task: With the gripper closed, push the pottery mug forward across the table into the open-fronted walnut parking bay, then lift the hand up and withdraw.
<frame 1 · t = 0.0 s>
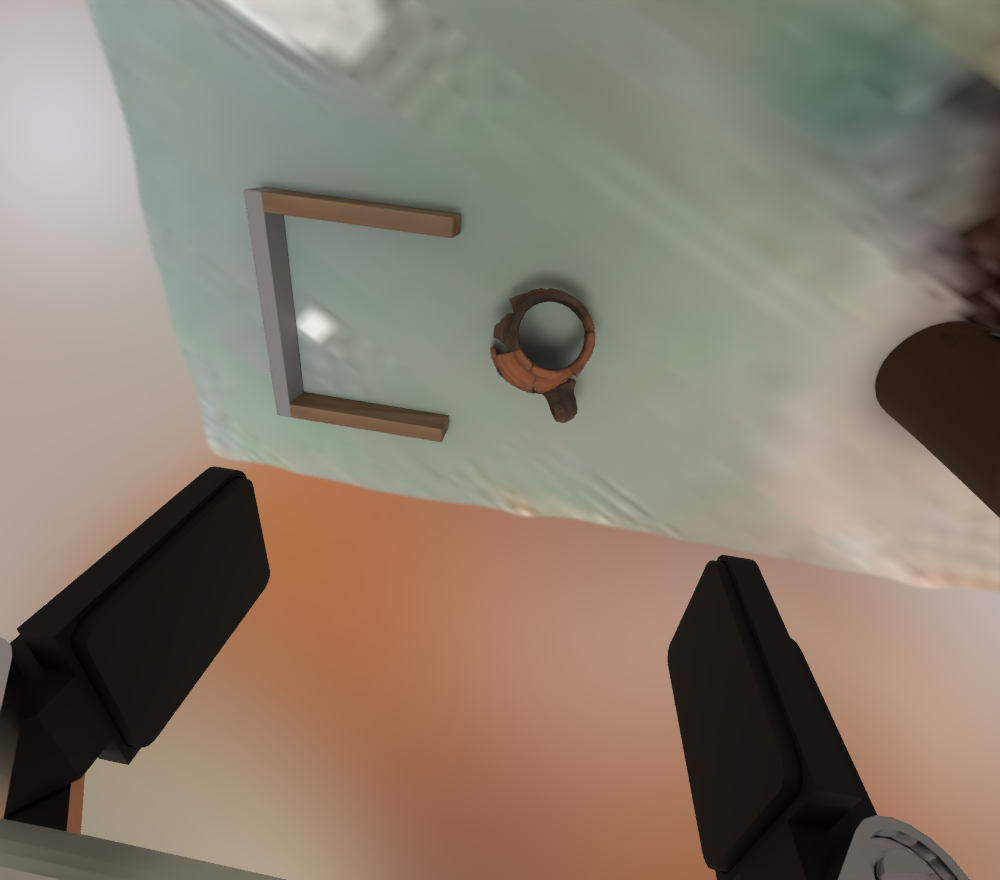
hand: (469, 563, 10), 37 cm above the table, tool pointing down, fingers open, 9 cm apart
parking bay: (373, 321, 46), on the table
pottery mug: (545, 346, 46), on the table
olive oil: (935, 372, 42), on the table
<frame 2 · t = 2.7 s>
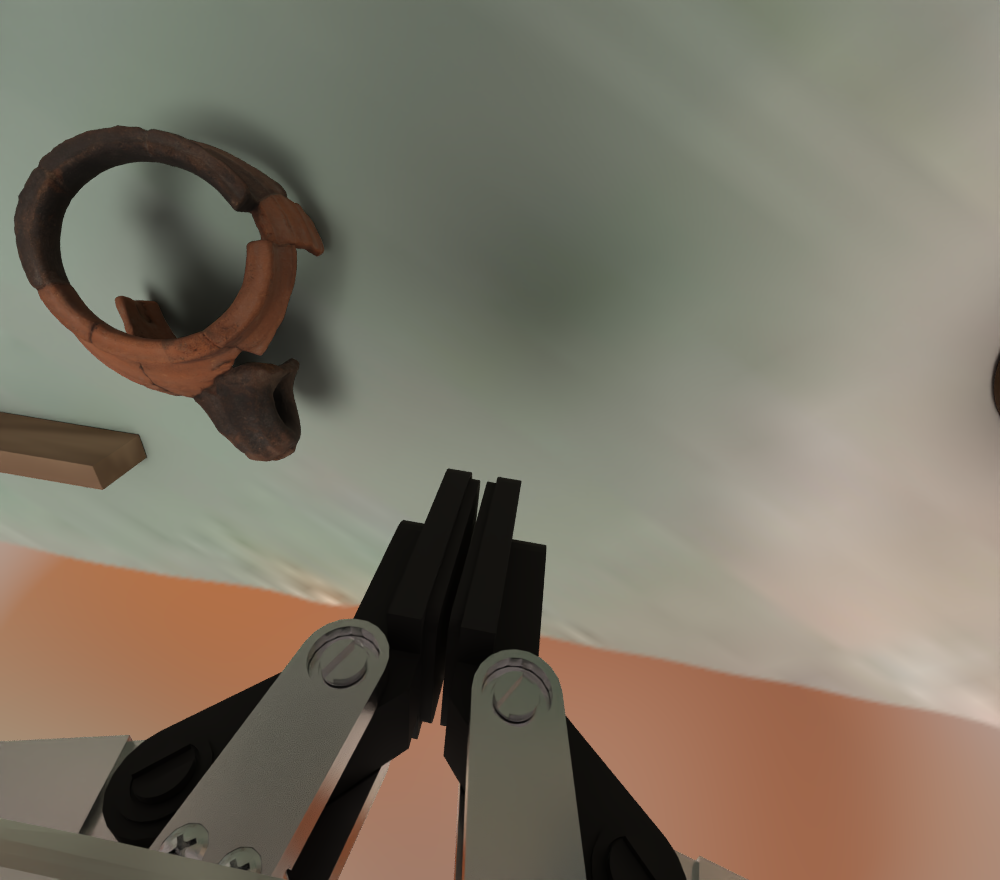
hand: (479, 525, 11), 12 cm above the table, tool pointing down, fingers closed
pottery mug: (255, 294, 21), on the table
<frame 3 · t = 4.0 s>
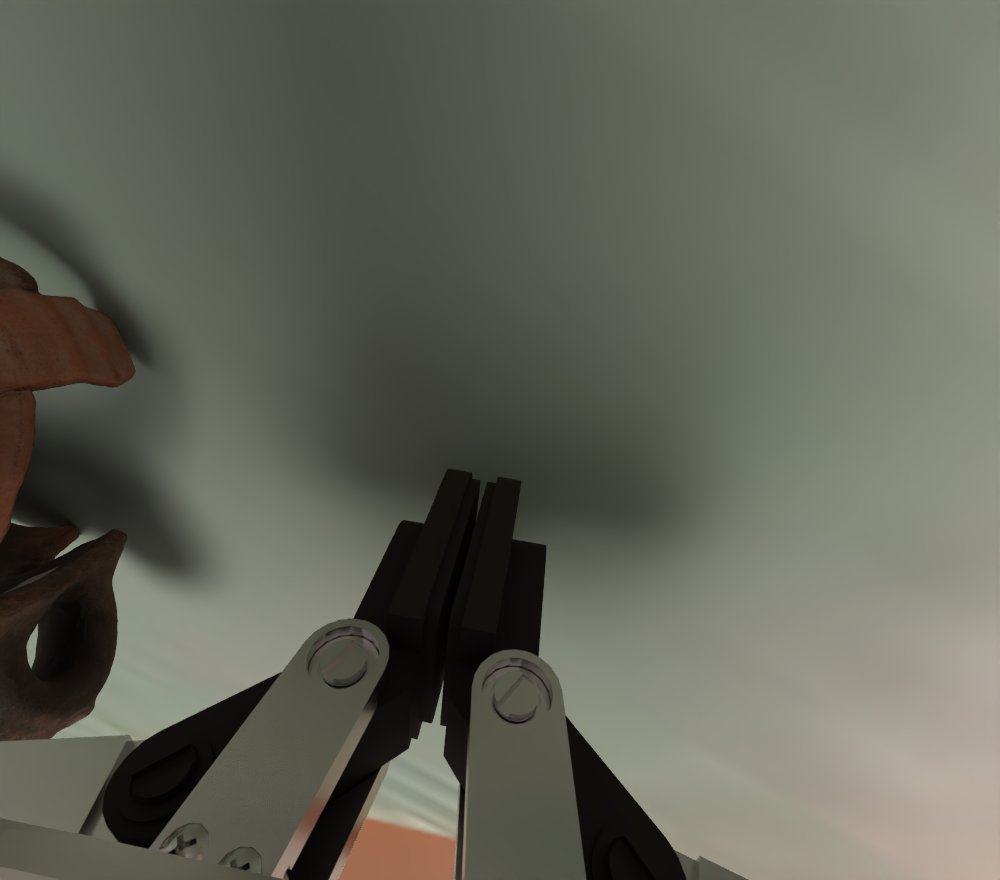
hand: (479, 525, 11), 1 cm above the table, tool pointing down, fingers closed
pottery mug: (54, 426, 13), on the table
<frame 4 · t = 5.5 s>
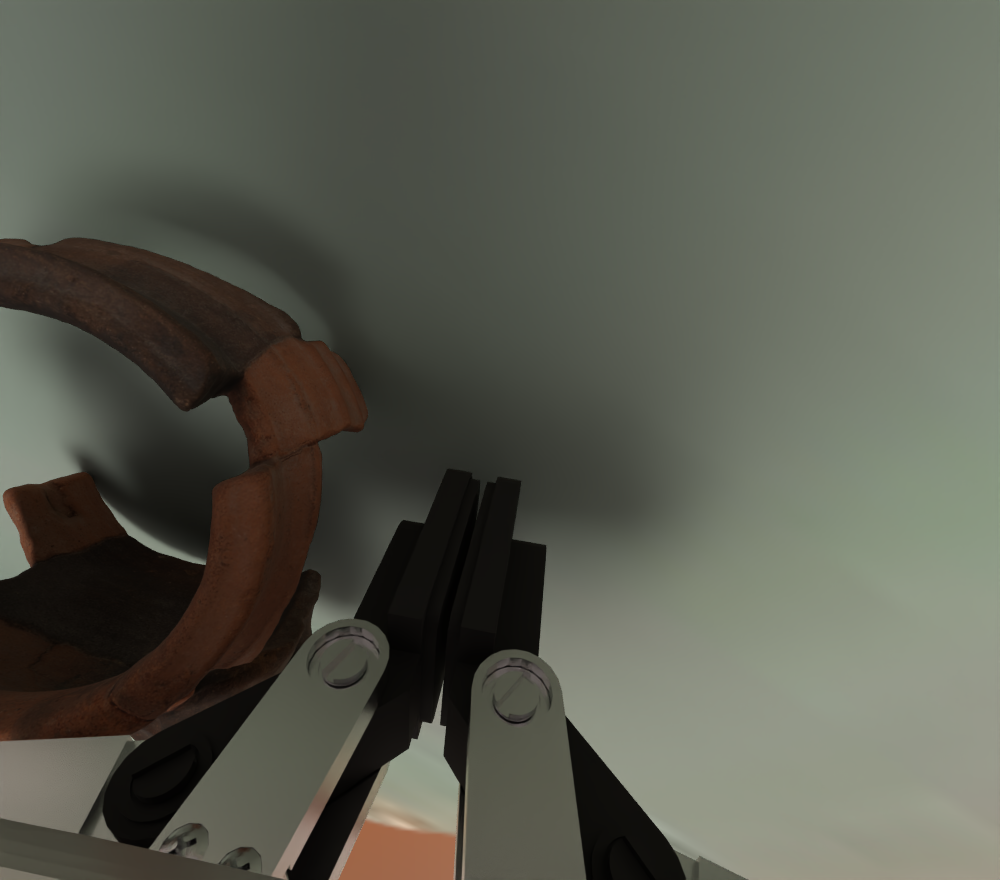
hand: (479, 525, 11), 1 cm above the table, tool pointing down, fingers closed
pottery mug: (247, 465, 13), on the table, touching gripper
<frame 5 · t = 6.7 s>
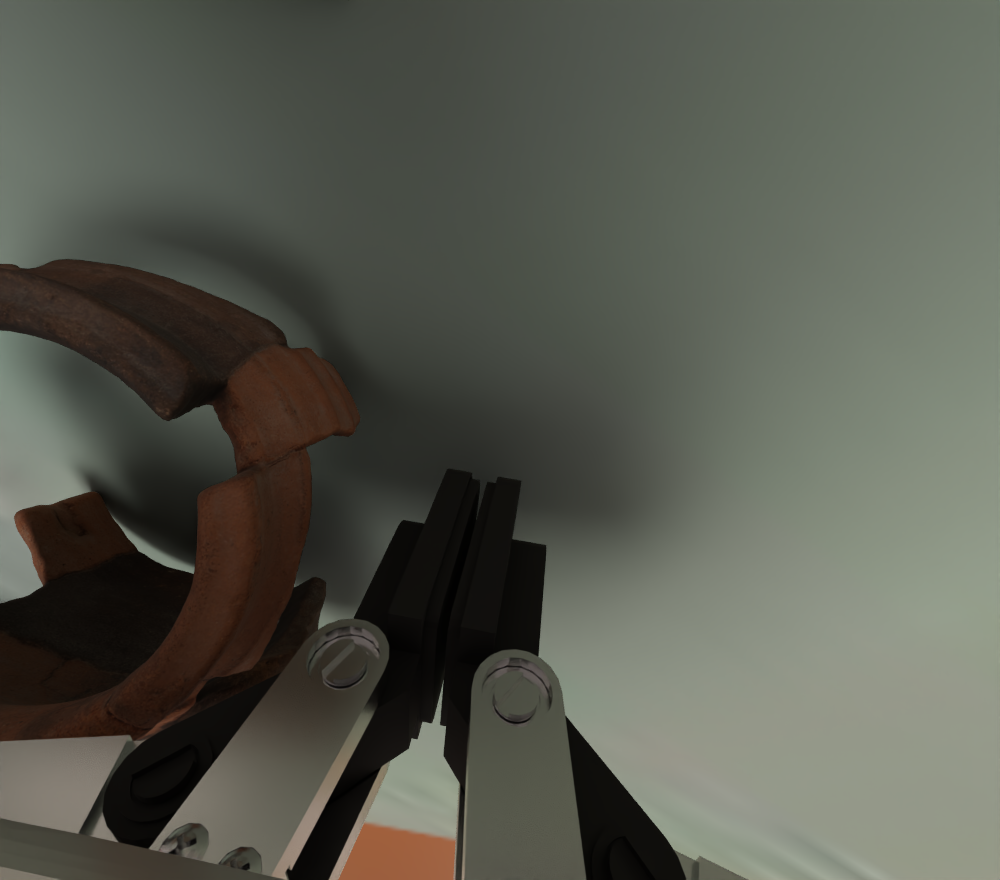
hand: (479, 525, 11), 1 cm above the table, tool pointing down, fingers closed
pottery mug: (248, 476, 13), on the table, touching gripper
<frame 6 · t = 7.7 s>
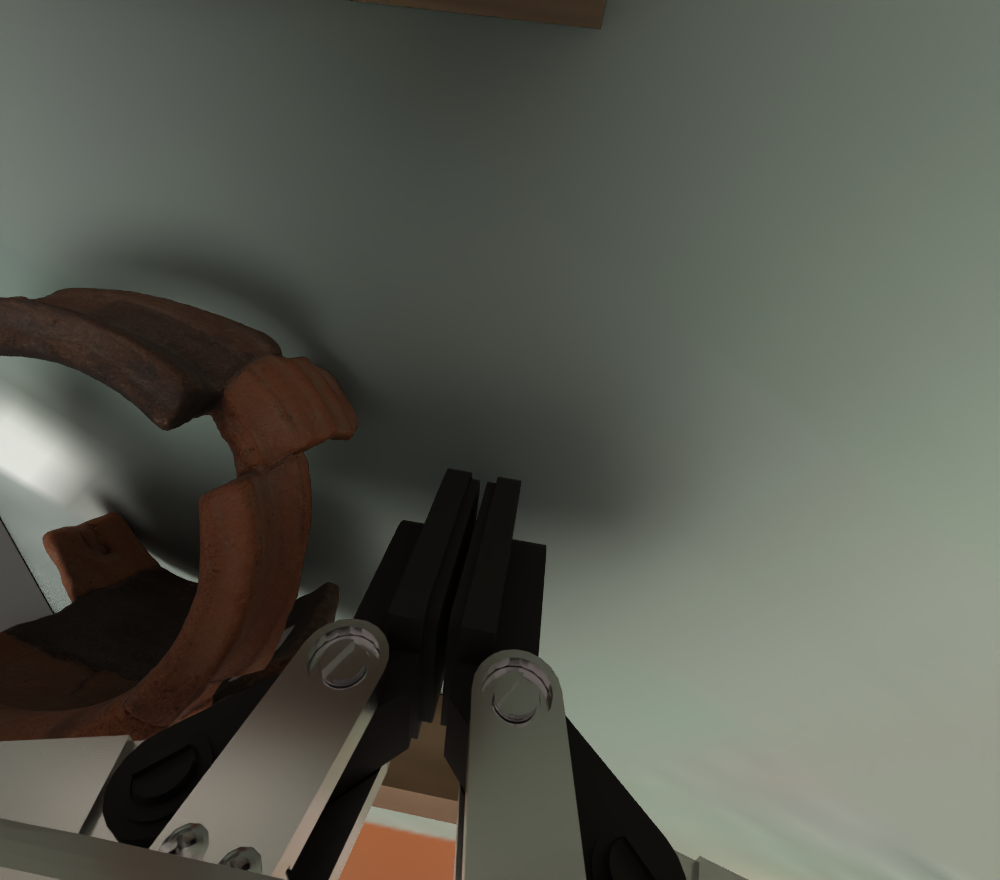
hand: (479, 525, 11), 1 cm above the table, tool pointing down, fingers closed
parking bay: (214, 445, 12), on the table
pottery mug: (259, 487, 13), on the table
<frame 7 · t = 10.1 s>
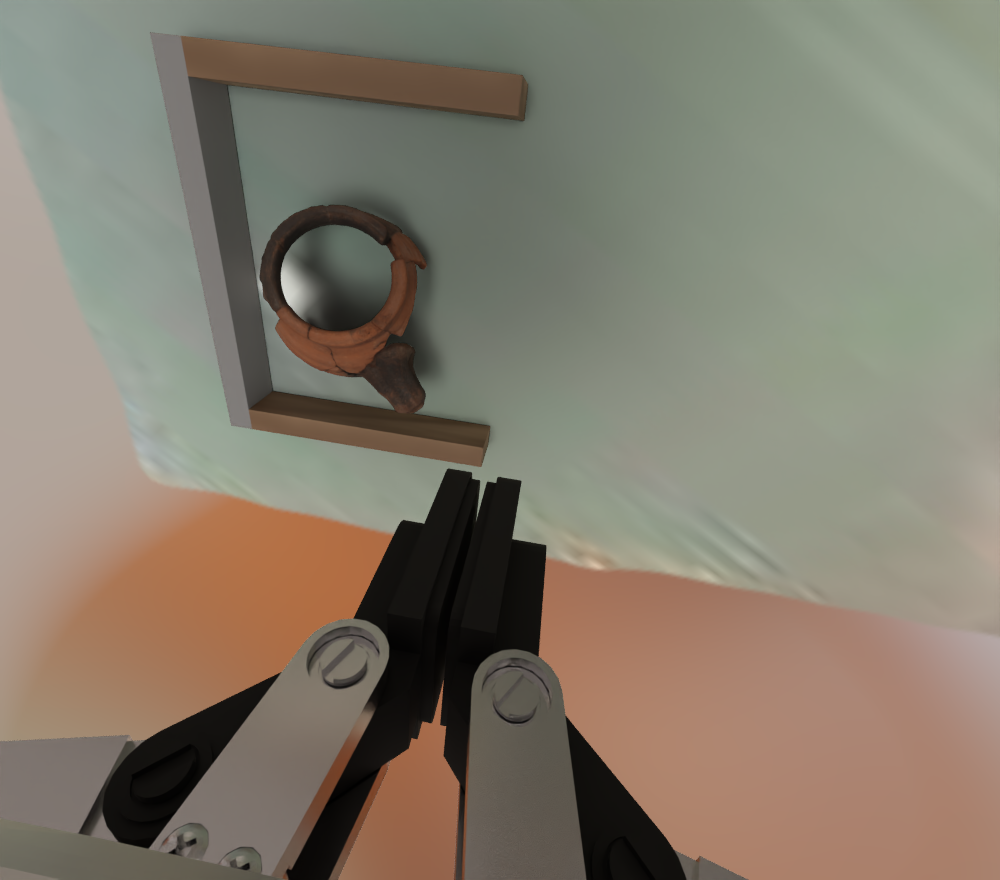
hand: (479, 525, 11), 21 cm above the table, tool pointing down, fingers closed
parking bay: (376, 279, 30), on the table
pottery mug: (378, 307, 31), on the table
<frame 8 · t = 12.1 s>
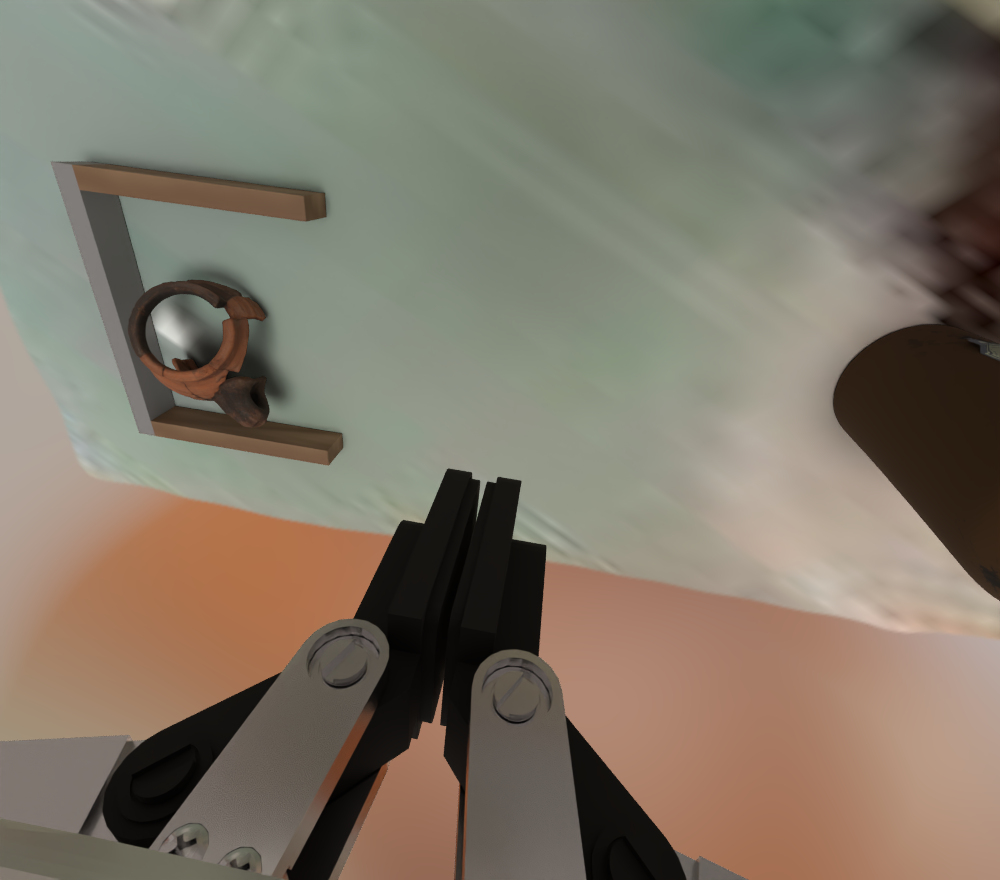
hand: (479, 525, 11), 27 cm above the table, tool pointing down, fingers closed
parking bay: (240, 323, 39), on the table
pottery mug: (239, 346, 41), on the table
olive oil: (905, 385, 35), on the table
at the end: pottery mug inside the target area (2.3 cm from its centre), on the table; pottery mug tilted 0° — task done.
